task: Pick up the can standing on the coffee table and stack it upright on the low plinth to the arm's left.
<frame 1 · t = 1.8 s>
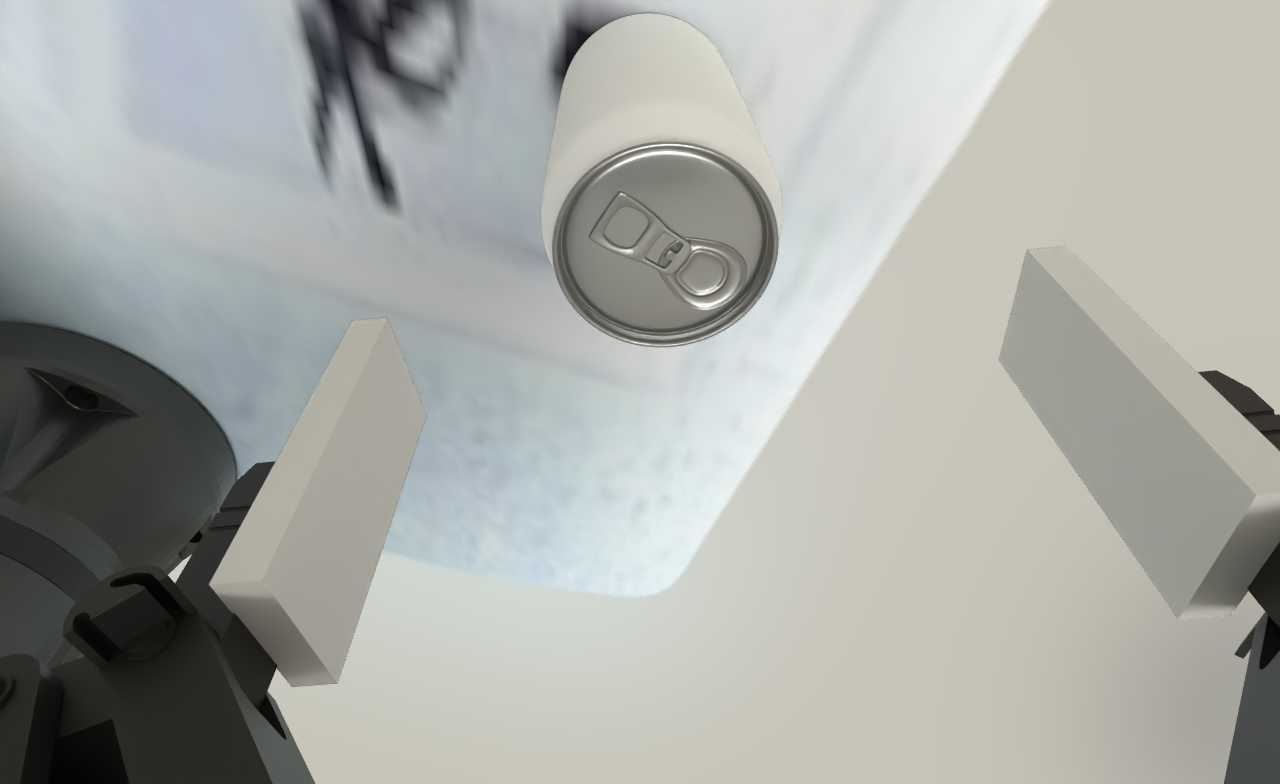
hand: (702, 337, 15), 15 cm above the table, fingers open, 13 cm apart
can: (646, 103, 27), on the table
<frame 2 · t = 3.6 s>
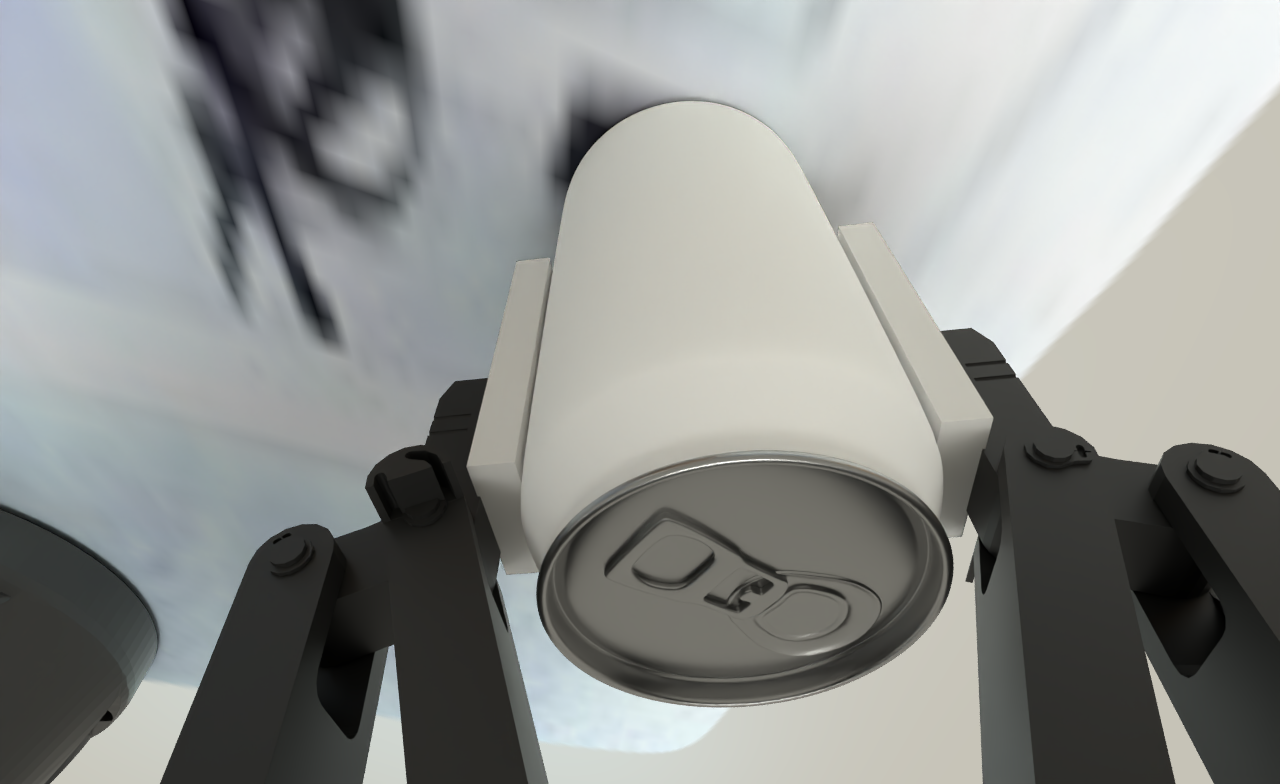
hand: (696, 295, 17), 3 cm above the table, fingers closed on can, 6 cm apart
can: (684, 216, 19), on the table, touching gripper
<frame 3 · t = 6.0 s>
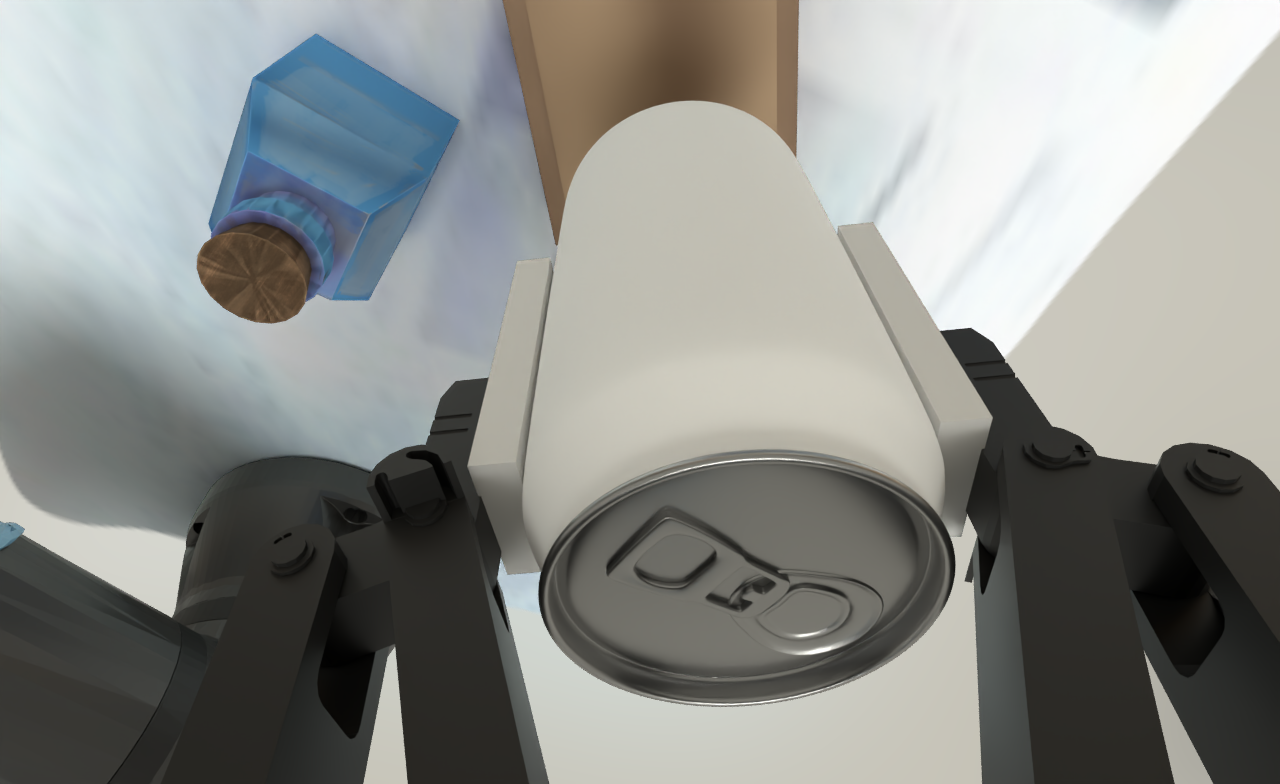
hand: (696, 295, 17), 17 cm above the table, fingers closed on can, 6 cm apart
can: (684, 216, 19), point 13 cm above the table, touching gripper
perfume bottle: (365, 139, 31), on the table
plinth: (657, 77, 30), on the table
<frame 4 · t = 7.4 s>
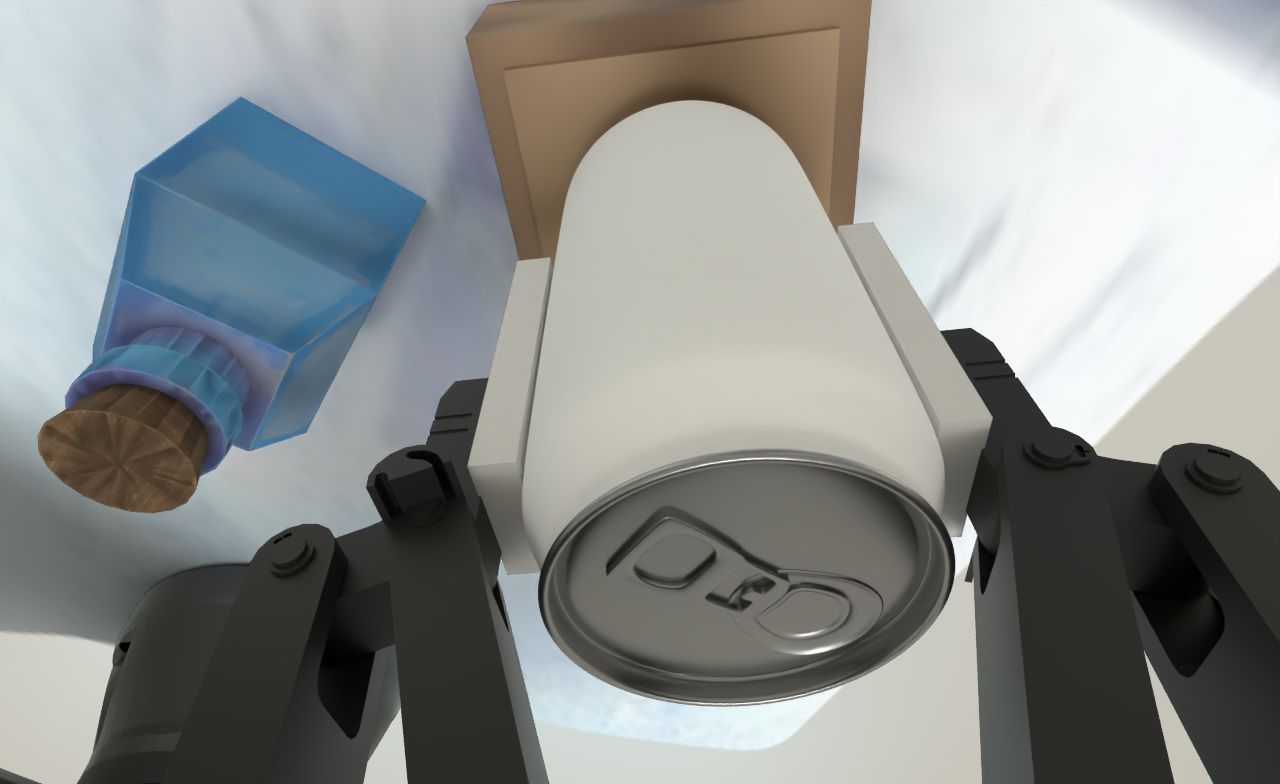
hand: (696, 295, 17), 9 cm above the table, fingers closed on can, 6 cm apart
can: (684, 216, 19), point 5 cm above the table, touching gripper
perfume bottle: (309, 221, 25), on the table
plinth: (673, 153, 24), on the table
when the fingers open (9 cm above the table, at t = 8.2 s): can stays where it is, resting on plinth.
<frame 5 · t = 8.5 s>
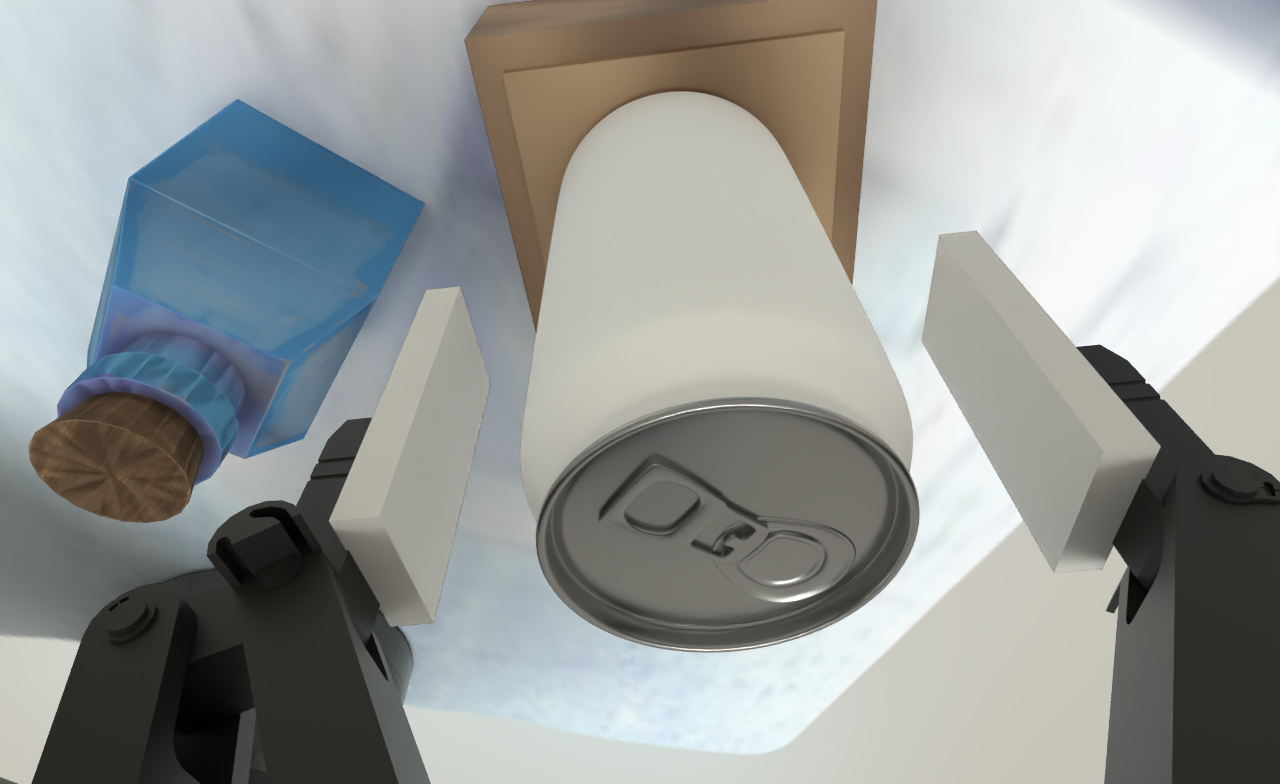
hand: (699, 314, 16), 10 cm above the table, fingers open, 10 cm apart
can: (675, 203, 20), point 4 cm above the table, touching plinth
perfume bottle: (307, 224, 25), on the table
plinth: (675, 156, 23), on the table
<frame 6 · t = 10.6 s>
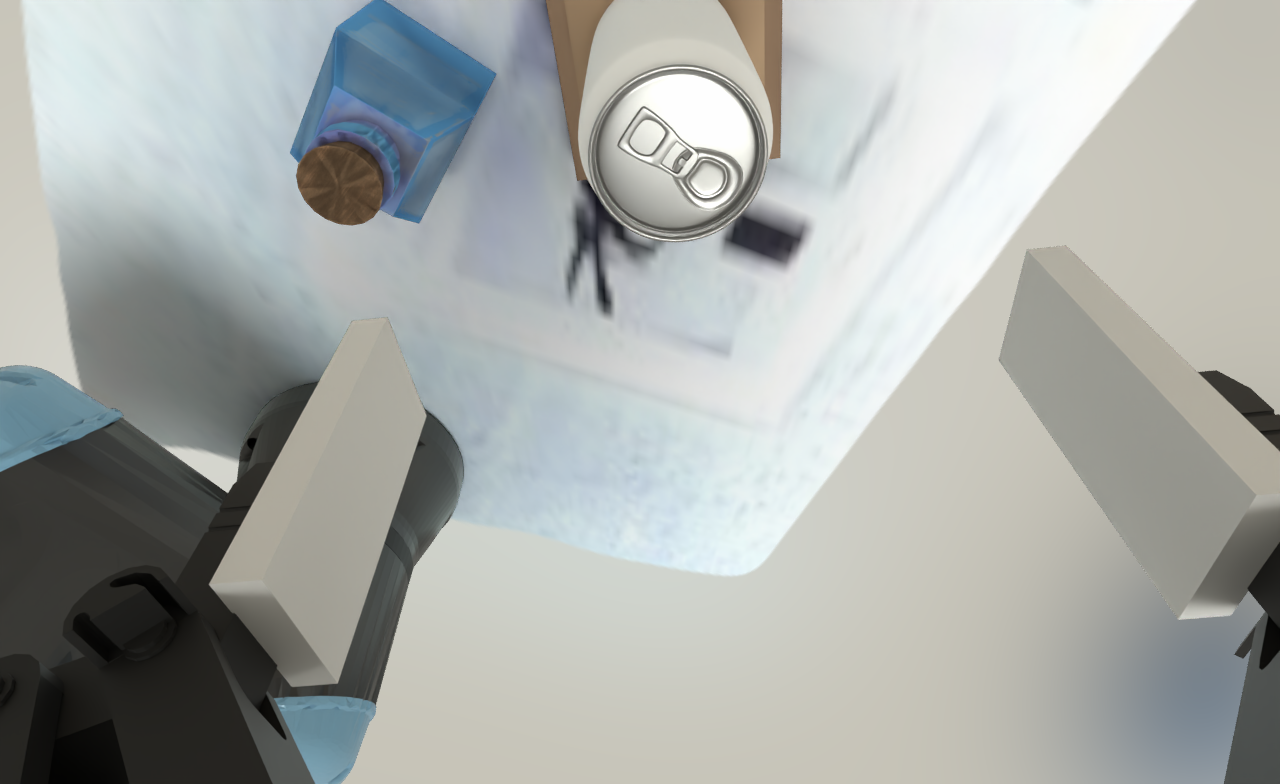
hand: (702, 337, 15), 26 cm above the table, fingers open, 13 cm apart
can: (663, 57, 32), point 4 cm above the table, touching plinth
perfume bottle: (415, 90, 37), on the table
plinth: (665, 39, 35), on the table
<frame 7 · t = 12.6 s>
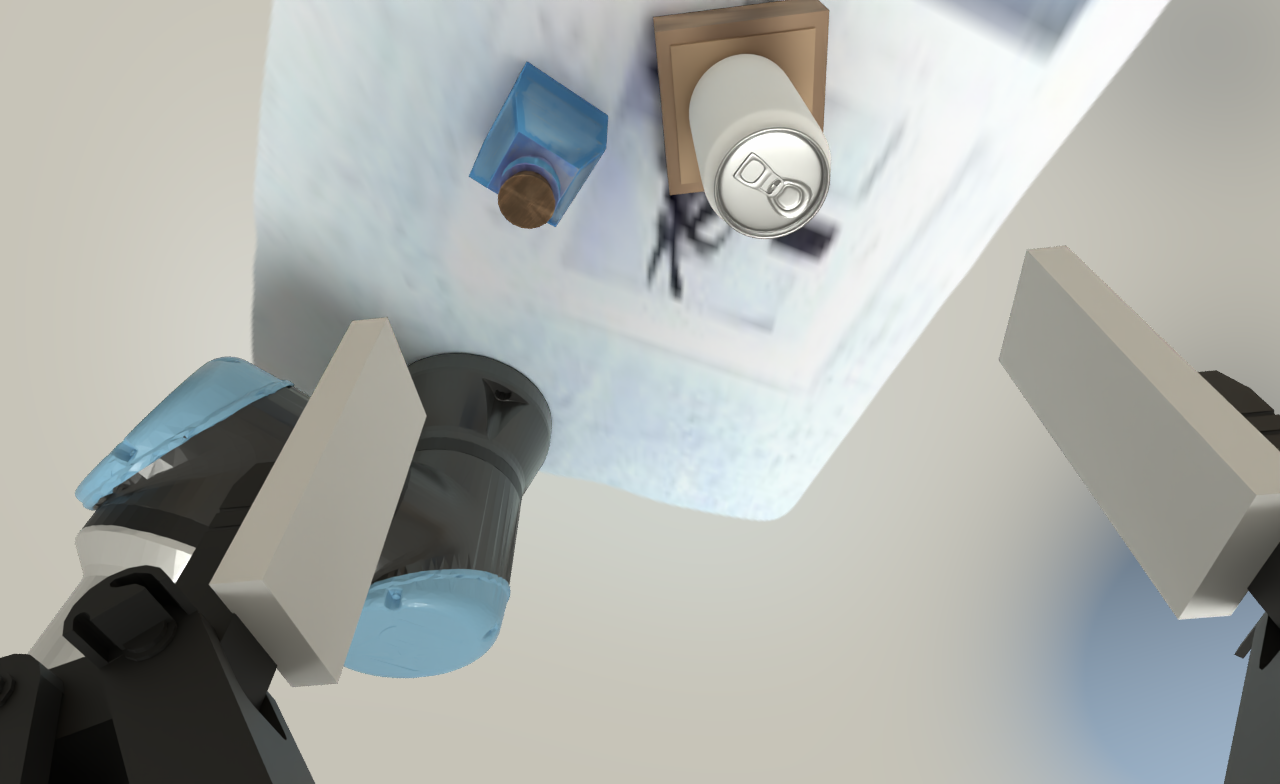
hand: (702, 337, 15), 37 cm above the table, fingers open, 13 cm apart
can: (740, 107, 44), point 4 cm above the table, touching plinth
perfume bottle: (545, 127, 49), on the table
plinth: (735, 90, 47), on the table
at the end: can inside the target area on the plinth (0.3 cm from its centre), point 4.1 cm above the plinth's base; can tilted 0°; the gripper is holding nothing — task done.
